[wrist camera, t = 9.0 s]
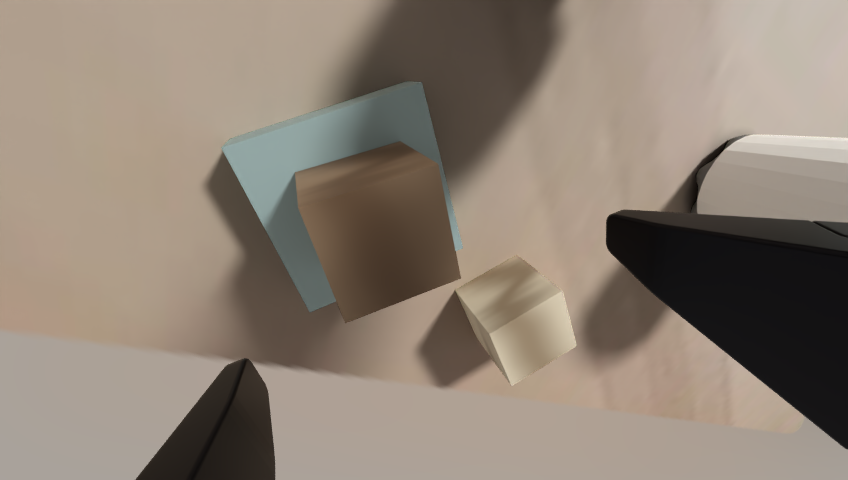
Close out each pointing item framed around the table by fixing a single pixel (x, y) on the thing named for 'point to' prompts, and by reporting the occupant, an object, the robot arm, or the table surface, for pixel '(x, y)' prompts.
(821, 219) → the cup
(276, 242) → the base block
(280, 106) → the table surface
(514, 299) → the beech cube
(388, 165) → the walnut cube
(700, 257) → the robot arm
